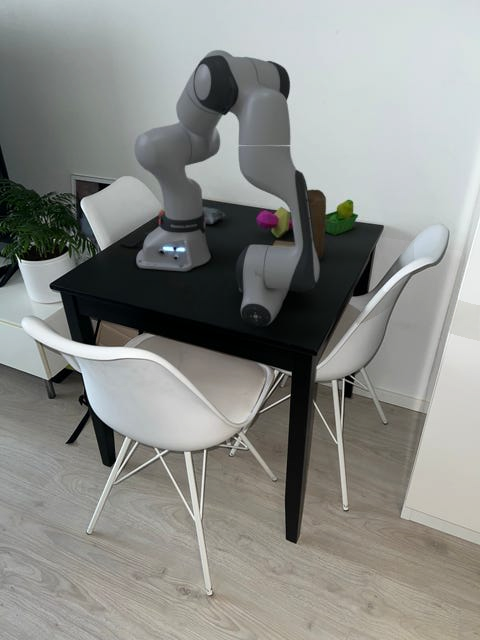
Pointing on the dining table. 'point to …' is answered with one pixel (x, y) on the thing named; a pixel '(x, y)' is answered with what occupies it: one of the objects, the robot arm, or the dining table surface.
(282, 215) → the toy
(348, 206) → the fruit basket
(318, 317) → the dining table surface
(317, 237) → the block
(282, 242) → the maple block
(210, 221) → the packaged food
